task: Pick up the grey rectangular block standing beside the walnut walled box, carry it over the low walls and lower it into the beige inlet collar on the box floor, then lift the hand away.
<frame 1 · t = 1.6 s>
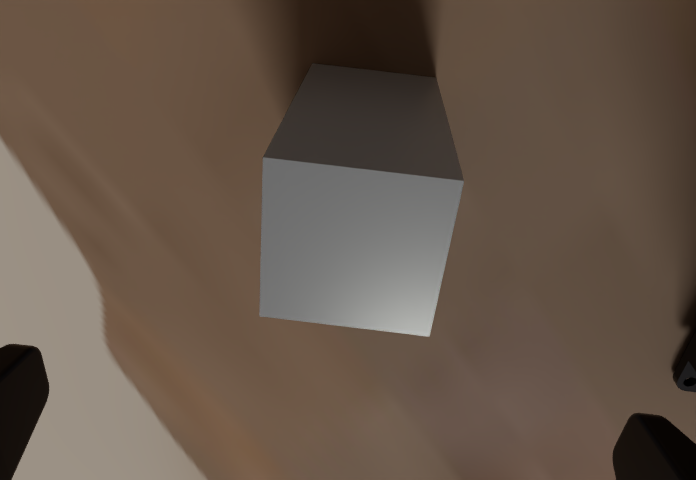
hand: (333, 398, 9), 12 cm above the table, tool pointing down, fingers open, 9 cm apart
grey rectangular block: (367, 130, 19), on the table
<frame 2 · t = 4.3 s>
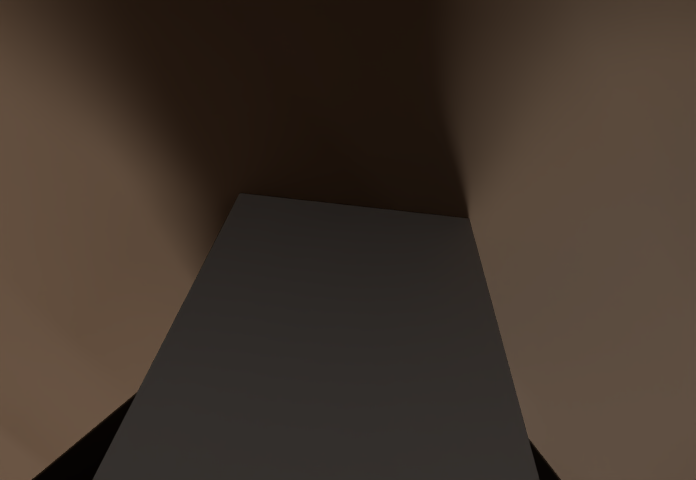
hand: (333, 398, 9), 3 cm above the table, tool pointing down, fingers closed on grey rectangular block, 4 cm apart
grey rectangular block: (343, 298, 11), on the table, touching gripper
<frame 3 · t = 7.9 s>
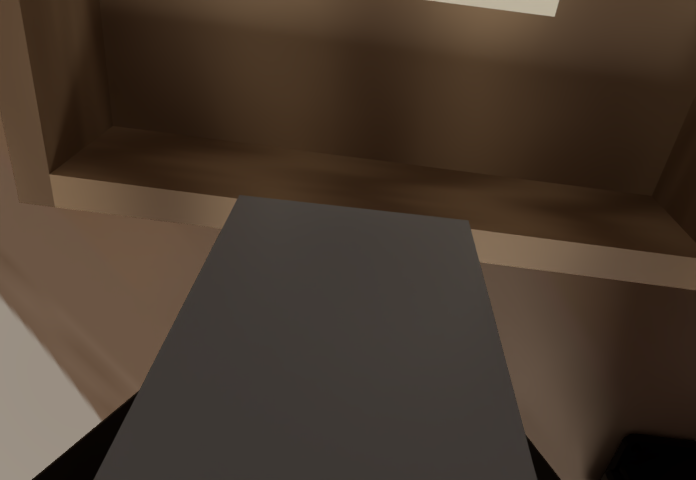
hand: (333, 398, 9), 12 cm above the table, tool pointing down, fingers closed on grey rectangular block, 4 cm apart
grey rectangular block: (343, 299, 11), point 10 cm above the table, touching gripper
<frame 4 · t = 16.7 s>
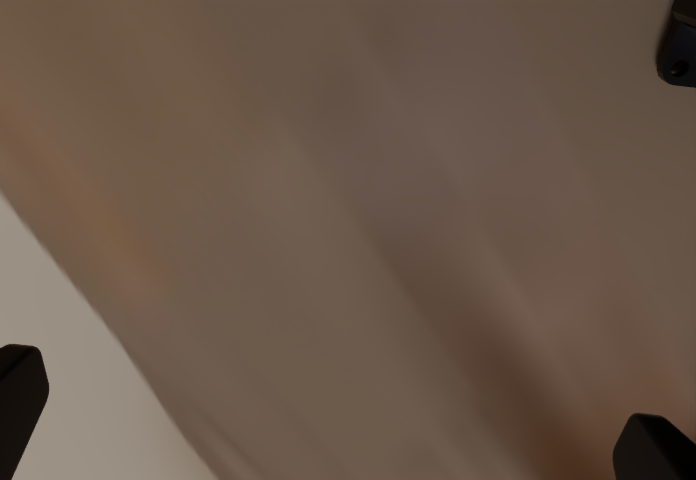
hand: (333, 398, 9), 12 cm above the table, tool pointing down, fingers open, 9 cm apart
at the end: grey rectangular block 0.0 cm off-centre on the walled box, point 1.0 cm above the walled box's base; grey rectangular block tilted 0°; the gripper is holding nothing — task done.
